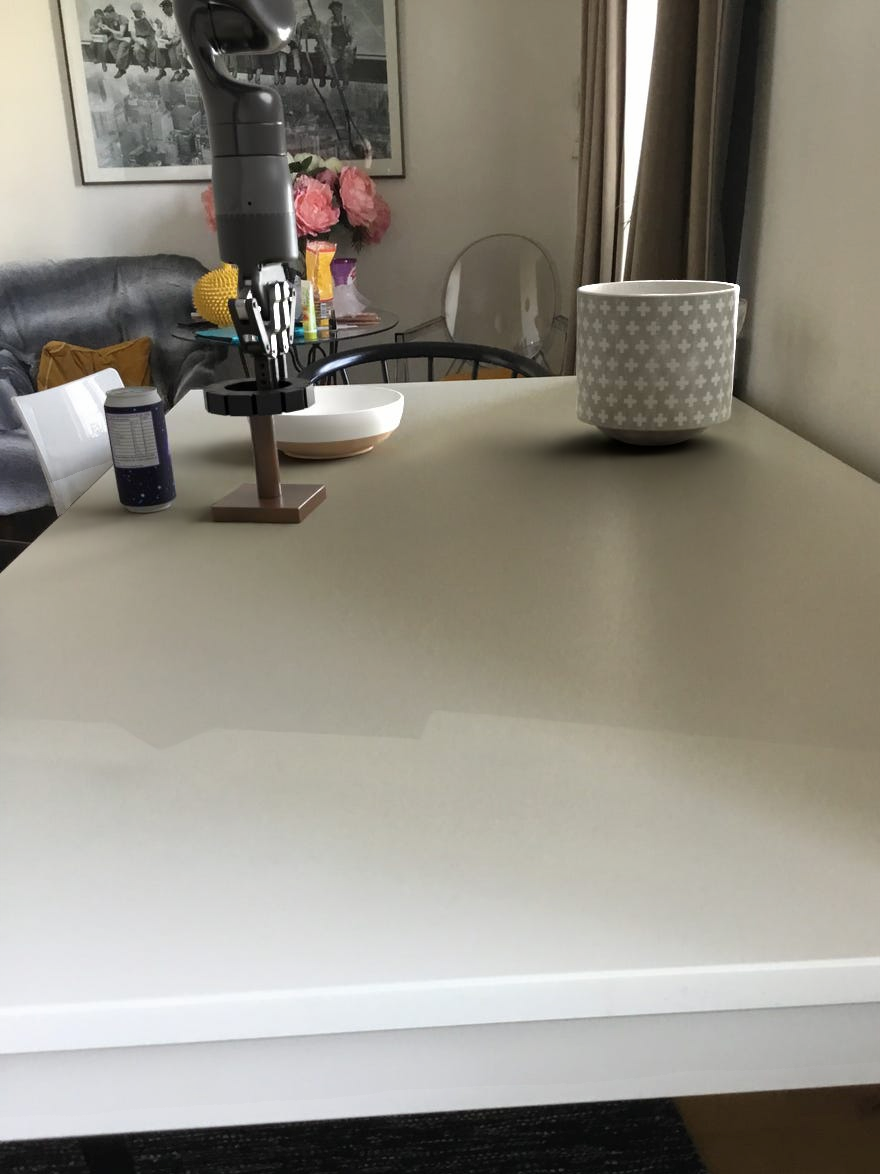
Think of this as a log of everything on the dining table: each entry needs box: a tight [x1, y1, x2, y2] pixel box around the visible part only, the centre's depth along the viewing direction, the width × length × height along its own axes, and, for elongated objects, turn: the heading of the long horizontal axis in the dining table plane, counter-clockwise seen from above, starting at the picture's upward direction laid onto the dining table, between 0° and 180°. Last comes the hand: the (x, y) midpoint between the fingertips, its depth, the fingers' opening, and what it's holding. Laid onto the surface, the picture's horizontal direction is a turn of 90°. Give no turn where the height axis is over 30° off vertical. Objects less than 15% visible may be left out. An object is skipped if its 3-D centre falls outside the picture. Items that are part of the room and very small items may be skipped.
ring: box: [202, 376, 315, 418], centre depth 103 cm, size 10×10×2 cm
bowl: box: [246, 385, 404, 460], centre depth 131 cm, size 20×20×6 cm
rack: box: [210, 415, 327, 524], centre depth 105 cm, size 9×9×12 cm
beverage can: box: [103, 385, 177, 514], centre depth 107 cm, size 6×6×12 cm
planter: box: [575, 280, 740, 447], centre depth 129 cm, size 19×19×18 cm
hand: (273, 392), depth 107 cm, fingers closed on ring, 2 cm apart
